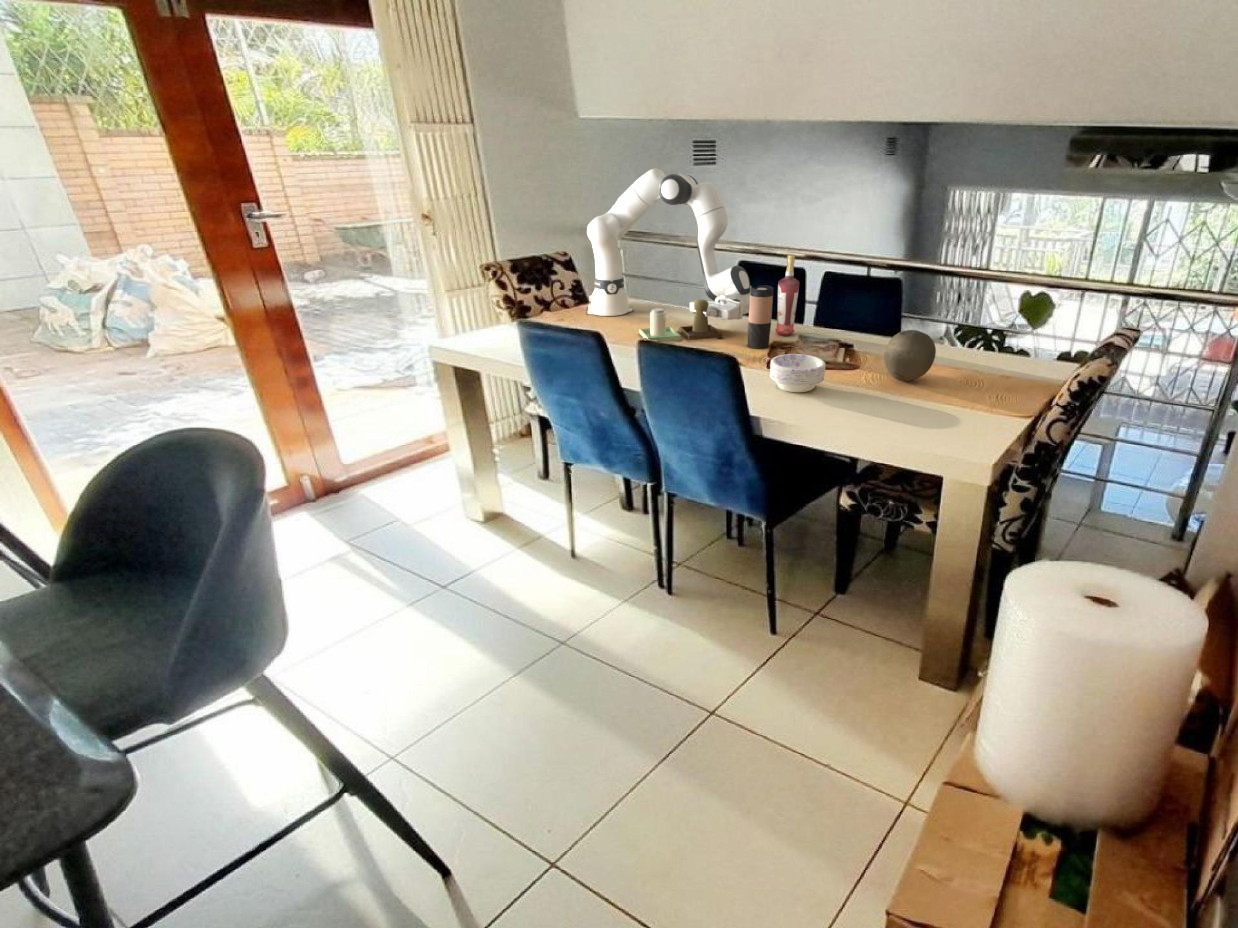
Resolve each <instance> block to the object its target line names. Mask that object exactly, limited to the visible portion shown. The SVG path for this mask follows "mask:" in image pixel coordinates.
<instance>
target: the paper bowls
mask: <svg viewBox="0 0 1238 928" xmlns="http://www.w3.org/2000/svg"><path fill="white" fill-rule="evenodd" d="M826 365H827V364H826V362H825V361H824V360H823V359H821V358H820V357H818V356H814V355H809V354H803V353H788V354H787V353H785V354H780V355H777V356H775V357H773V358H771V360H770V367H769V368H770V371H769V378H770V379H771V380H772V381H773V382H775V384H776V385H777V387H778V388H779V389H781V390H783V391H786V392H789V393H806V392H811V391H812V390H814V389H815V387H816V386H817V385H818V384H821V383H822V382H824V381H825V372H826V367H827V366H826Z"/></svg>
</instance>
